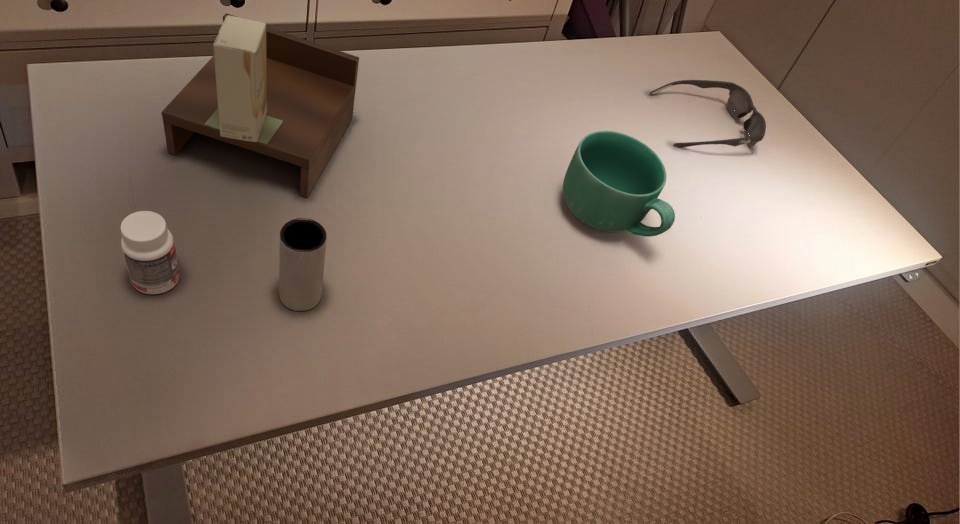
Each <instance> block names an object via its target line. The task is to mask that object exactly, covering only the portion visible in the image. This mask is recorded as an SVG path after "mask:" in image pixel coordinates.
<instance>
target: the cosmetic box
mask: <svg viewBox="0 0 960 524" xmlns="http://www.w3.org/2000/svg"><path fill="white" fill-rule="evenodd" d="M230 15H231V14H230ZM230 15H228V16H226V18H225V20H224V22H223V21H222V24H221V27H220V28H219V31H218V33H217V36H216V37H215V40H214V42H213V46H212V47H213V56H214V60H215V73H216V86H217V99H218V112H219V126H220V136H222V137H227V138H233V139H238V140H245V141H251V142H257V141H258V139H259V136H260V134H261V131H262V128H263V125H264V121H265V117H266V114H267V75H266V27H267V23H266V22H262V21H257V20H253V19H248V18H243V17H239V16H236V17H234V16H235V15H233V16H230Z"/></svg>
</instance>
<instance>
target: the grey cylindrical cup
mask: <svg viewBox="0 0 960 524" xmlns="http://www.w3.org/2000/svg"><path fill="white" fill-rule="evenodd" d="M327 236H328V235H327V231H326V229H325V228H324V226H323V225H322V224H321V223H320V222H318V221H316V220H314V219H311V218H305V217H298V218H294V219H291V220H289V221H287V222H286V223H285V224H283V225H282V227H281V229H280V231H279V254H278V255H279V258H278V259H279V262H278V265H279V267H278V270H279V271H278V273H279V274H278V276H279V277H278V278H279V279H278V282H279V283H278V295H279V300H280V301H281V303H282V305H283V306H284V307H286V308H287V309H289V310H292V311H296V312H306V311H309V310H311V309H314V308H315V307H316V306H318V305H319V303H320V301H321V299H322V294H323V282H324V274H325V273H324V272H325V261H326V260H325V259H326V249H327V238H328V237H327Z"/></svg>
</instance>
